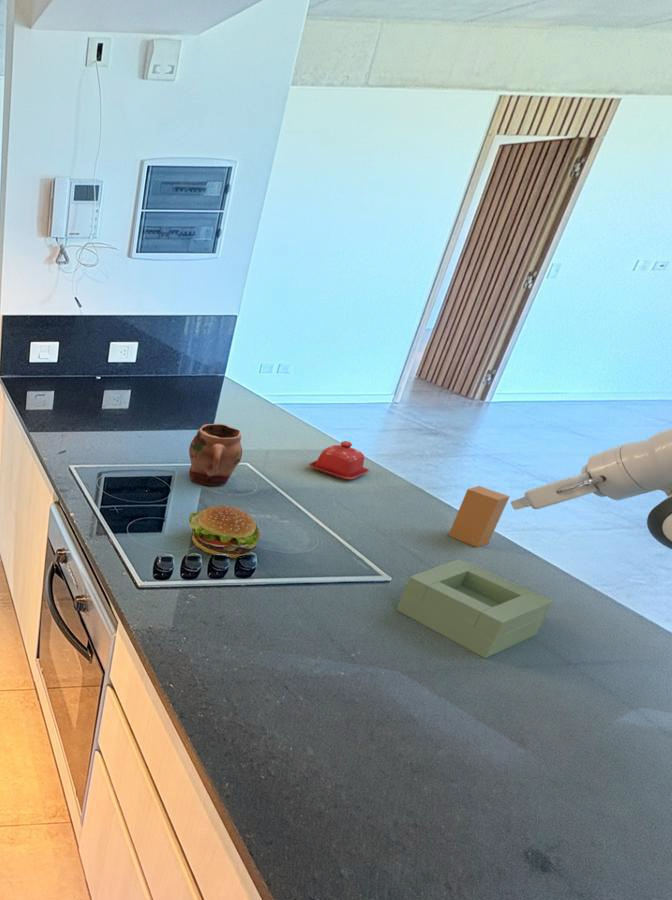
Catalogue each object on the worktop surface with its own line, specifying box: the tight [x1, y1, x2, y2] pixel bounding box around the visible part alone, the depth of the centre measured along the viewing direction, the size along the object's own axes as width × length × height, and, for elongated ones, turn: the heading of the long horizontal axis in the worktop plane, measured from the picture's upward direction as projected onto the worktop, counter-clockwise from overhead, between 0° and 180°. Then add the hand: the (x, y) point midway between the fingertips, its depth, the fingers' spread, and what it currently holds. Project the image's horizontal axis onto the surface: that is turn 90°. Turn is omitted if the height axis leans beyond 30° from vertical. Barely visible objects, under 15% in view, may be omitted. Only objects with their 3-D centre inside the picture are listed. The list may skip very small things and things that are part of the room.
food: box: [188, 505, 261, 559], centre depth 126 cm, size 14×14×8 cm
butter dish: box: [308, 440, 371, 480], centre depth 161 cm, size 12×12×8 cm
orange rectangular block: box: [448, 485, 510, 548], centre depth 128 cm, size 4×6×11 cm
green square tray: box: [396, 558, 554, 659], centre depth 103 cm, size 14×14×7 cm
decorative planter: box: [188, 423, 243, 487], centre depth 154 cm, size 20×12×14 cm, turn 165°
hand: (528, 501), depth 119 cm, fingers open, 8 cm apart
